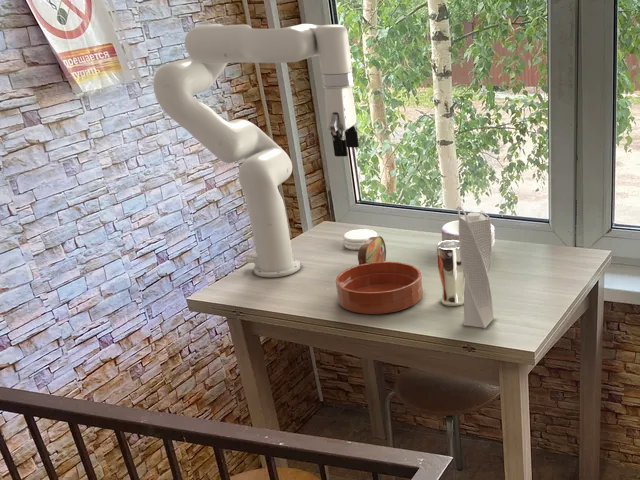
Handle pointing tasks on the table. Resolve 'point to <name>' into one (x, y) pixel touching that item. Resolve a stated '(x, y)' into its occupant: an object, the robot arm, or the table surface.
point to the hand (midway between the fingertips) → (347, 151)
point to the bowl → (379, 287)
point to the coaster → (357, 238)
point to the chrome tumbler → (450, 272)
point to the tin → (372, 251)
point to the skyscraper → (476, 267)
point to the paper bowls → (457, 231)
